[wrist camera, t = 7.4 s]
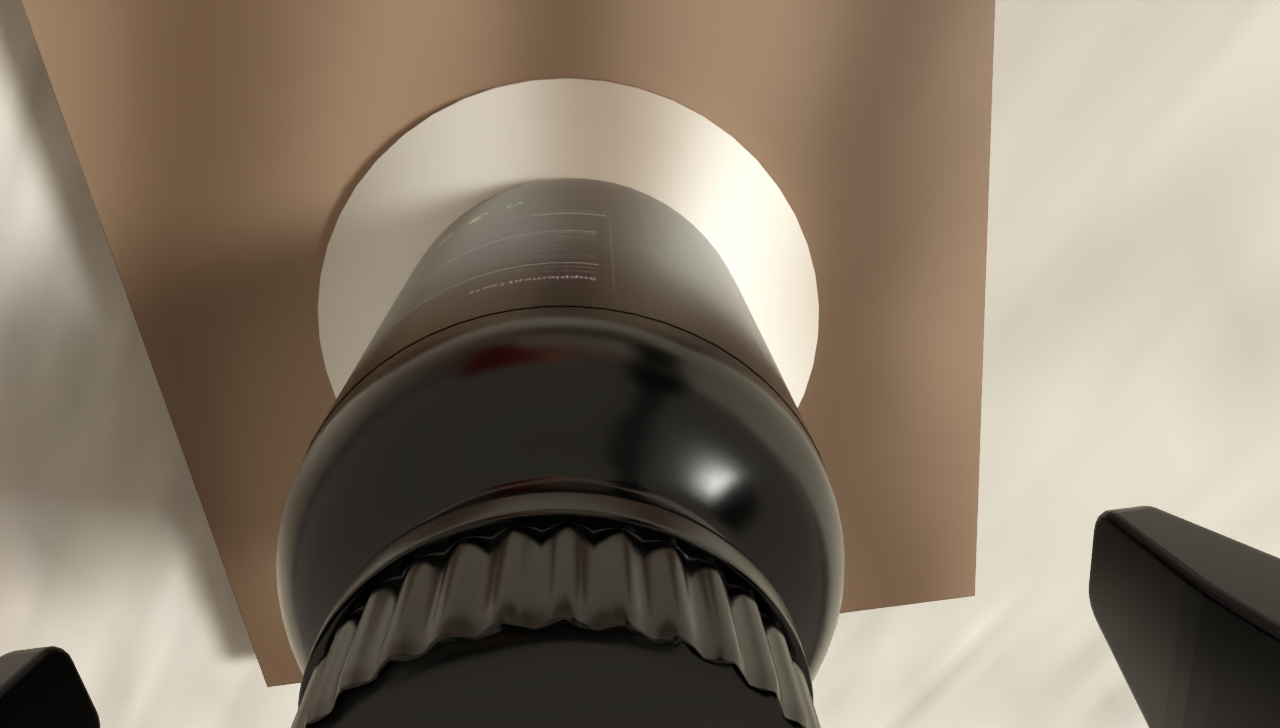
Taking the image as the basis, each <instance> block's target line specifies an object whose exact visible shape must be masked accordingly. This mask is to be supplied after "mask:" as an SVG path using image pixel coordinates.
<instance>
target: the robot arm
mask: <svg viewBox="0 0 1280 728" xmlns="http://www.w3.org/2000/svg"><path fill="white" fill-rule="evenodd" d="M1089 598H1090V603H1091V607H1092V611H1093V614H1094V616H1095V618H1096V621H1097V623H1098V625H1099V627H1100V629H1101V631H1102V633H1103V635H1104V637H1105V639H1106V641H1107V643H1108V645H1109V647H1110V649H1111V651H1112V653H1113V655H1114V657H1115V659H1116V661H1117V663H1118V665H1119V667H1120V669H1121V671H1122V673H1123V676H1124V678H1125V680H1126V682H1127V684H1128V686H1129V688H1130V690H1131V692H1132V694H1133V696H1134V698H1135V700H1136V702H1137V704H1138V706H1139V708H1140V710H1141V712H1142V714H1143V716H1144V718H1145V720H1146V722H1147V724H1148V726H1149V728H1280V558H1277V557H1275V556H1272V555H1270V554H1268V553H1265V552H1263V551H1260V550H1258V549H1255V548H1253V547H1250V546H1248V545H1245V544H1243V543H1241V542H1238V541H1236V540H1233V539H1231V538H1228V537H1226V536H1223V535H1221V534H1218V533H1216V532H1214V531H1211V530H1209V529H1206V528H1204V527H1201V526H1199V525H1196V524H1194V523H1191V522H1189V521H1187V520H1184V519H1182V518H1179V517H1177V516H1174V515H1172V514H1169V513H1167V512H1164V511H1162V510H1160V509H1157V508H1154V507H1151V506H1139V507H1131V508H1123V509H1116V510H1108V511H1105V512H1104V513H1102V514H1101V515H1100V516H1099V517H1098V519H1097V521H1096V524H1095V529H1094V538H1093V549H1092V559H1091V570H1090V580H1089ZM0 728H100V722H99V716H98V714H97V711H96V709H95V707H94V705H93V703H92V701H91V698H90V696H89V694H88V692H87V690H86V688H85V686H84V684H83V682H82V680H81V677H80V675H79V673H78V671H77V669H76V667H75V665H74V663H73V661H72V659H71V657H70V656H69V654H68V653H67V652H65V651H64V650H63V649H61V648H58V647H54V646H50V647H42V648H34V649H26V650H18V651H13V652H10V653H7V654H5V655H3V656H1V657H0Z"/></svg>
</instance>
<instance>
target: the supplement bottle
mask: <svg viewBox="0 0 1280 728" xmlns="http://www.w3.org/2000/svg"><path fill="white" fill-rule="evenodd" d="M276 576H277V591H278V597H279V603H280V609H281V615H282V619H283V623H284V626H285V630H286V633H287V637H288V640H289V643H290V647H291V649H292V651H293V654H294V656H295V659H296V661H297V663H298V666H299V668H300V670H301V672H302V674H303V678H302V682H301V687H300V693H299V701H298V711H297V714H296V716H295V719H294V721H293V724H292V726H291V728H821V727H820V724H819V721H818V718H817V714H816V711H815V708H814V705H813V689H812V682H813V680H814V678H815V676H816V674H817V672H818V670H819V668H820V666H821V664H822V662H823V660H824V658H825V656H826V653H827V651H828V648H829V645H830V642H831V640H832V637H833V634H834V631H835V628H836V625H837V621H838V616H839V612H840V607H841V603H842V598H843V590H844V581H845V542H844V534H843V525H842V520H841V516H840V512H839V507H838V503H837V499H836V496H835V493H834V490H833V488H832V485H831V482H830V479H829V477H828V474H827V471H826V469H825V466H824V463H823V461H822V458H821V456H820V453H819V451H818V449H817V447H816V445H815V443H814V441H813V439H812V437H811V435H810V433H809V431H808V429H807V427H806V425H805V422H804V420H803V418H802V416H801V414H800V412H799V410H798V408H797V406H796V404H795V402H794V400H793V398H792V396H791V394H790V392H789V390H788V388H787V386H786V384H785V382H784V380H783V378H782V375H781V373H780V371H779V369H778V367H777V365H776V363H775V361H774V359H773V357H772V355H771V353H770V351H769V349H768V347H767V345H766V343H765V341H764V339H763V337H762V335H761V333H760V331H759V328H758V326H757V324H756V322H755V320H754V318H753V316H752V314H751V312H750V310H749V308H748V306H747V304H746V302H745V300H744V298H743V296H742V294H741V292H740V290H739V288H738V286H737V284H736V282H735V280H734V278H733V277H732V275H731V273H730V271H729V269H728V268H727V266H726V264H725V263H724V261H723V260H722V258H721V257H720V255H719V253H718V252H717V251H716V250H715V248H714V247H713V246H712V245H711V243H710V242H709V241H708V240H707V238H706V237H705V236H704V235H703V234H702V233H701V232H700V231H699V230H698V229H697V228H696V227H695V226H694V225H693V224H692V223H691V222H689V221H688V220H687V219H686V218H685V217H683V216H682V215H681V214H680V213H678V212H677V211H675V210H674V209H672V208H671V207H669V206H668V205H666V204H665V203H663V202H661V201H659V200H657V199H655V198H654V197H652V196H650V195H647V194H645V193H643V192H640V191H638V190H635V189H633V188H630V187H626V186H623V185H620V184H616V183H612V182H606V181H601V180H594V179H584V178H559V179H548V180H541V181H536V182H531V183H526V184H523V185H520V186H516V187H513V188H510V189H507V190H505V191H503V192H500V193H498V194H495V195H493V196H491V197H489V198H488V199H486V200H484V201H482V202H480V203H478V204H477V205H475V206H474V207H472V208H471V209H469V210H468V211H466V212H465V213H463V214H462V215H461V216H460V217H459V218H457V219H456V220H455V221H454V222H453V223H452V224H450V225H449V226H448V227H447V228H446V229H445V230H444V231H443V232H442V233H441V234H440V235H439V236H438V238H437V239H436V240H435V241H434V242H433V243H432V245H431V246H430V247H429V249H428V250H427V251H426V252H425V254H424V255H423V257H422V258H421V260H420V261H419V263H418V264H417V265H416V267H415V269H414V270H413V272H412V273H411V275H410V277H409V278H408V280H407V282H406V283H405V285H404V287H403V288H402V290H401V292H400V293H399V295H398V297H397V298H396V300H395V302H394V303H393V305H392V307H391V308H390V310H389V312H388V313H387V315H386V317H385V318H384V320H383V322H382V324H381V325H380V327H379V329H378V330H377V332H376V334H375V335H374V337H373V339H372V340H371V342H370V344H369V345H368V347H367V349H366V350H365V352H364V354H363V355H362V357H361V359H360V360H359V362H358V364H357V365H356V367H355V369H354V370H353V372H352V374H351V376H350V377H349V379H348V381H347V382H346V384H345V386H344V387H343V389H342V391H341V392H340V394H339V396H338V397H337V399H336V401H335V402H334V404H333V406H332V407H331V409H330V411H329V412H328V414H327V416H326V417H325V419H324V421H323V423H322V424H321V426H320V428H319V429H318V431H317V433H316V434H315V436H314V438H313V440H312V441H311V443H310V445H309V448H308V450H307V452H306V454H305V456H304V458H303V460H302V462H301V465H300V467H299V469H298V471H297V473H296V475H295V478H294V480H293V482H292V485H291V487H290V490H289V493H288V496H287V500H286V503H285V506H284V509H283V513H282V518H281V523H280V528H279V533H278V544H277V557H276Z"/></svg>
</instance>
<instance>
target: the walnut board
mask: <svg viewBox="0 0 1280 728" xmlns="http://www.w3.org/2000/svg"><path fill="white" fill-rule="evenodd" d="M21 1H22V4H23V7H24V10H25V12H26V15H27V18H28V21H29V24H30V26H31V29H32V32H33V35H34V38H35V40H36V43H37V46H38V49H39V51H40V54H41V57H42V60H43V63H44V65H45V68H46V71H47V74H48V77H49V79H50V82H51V85H52V88H53V91H54V93H55V96H56V99H57V102H58V104H59V107H60V110H61V113H62V116H63V118H64V121H65V124H66V127H67V130H68V132H69V135H70V138H71V141H72V143H73V146H74V149H75V152H76V155H77V157H78V160H79V163H80V166H81V169H82V171H83V174H84V177H85V180H86V183H87V185H88V188H89V191H90V194H91V196H92V199H93V202H94V205H95V208H96V210H97V213H98V216H99V219H100V222H101V224H102V227H103V230H104V233H105V235H106V238H107V241H108V244H109V247H110V249H111V252H112V255H113V258H114V261H115V263H116V266H117V269H118V272H119V275H120V277H121V280H122V283H123V286H124V288H125V291H126V294H127V297H128V300H129V302H130V305H131V308H132V311H133V314H134V316H135V319H136V322H137V325H138V327H139V330H140V333H141V336H142V339H143V341H144V344H145V347H146V350H147V353H148V355H149V358H150V361H151V364H152V367H153V369H154V372H155V375H156V378H157V380H158V383H159V386H160V389H161V392H162V394H163V397H164V400H165V403H166V406H167V408H168V411H169V414H170V417H171V419H172V422H173V425H174V428H175V431H176V433H177V436H178V439H179V442H180V445H181V447H182V450H183V453H184V456H185V459H186V461H187V464H188V467H189V470H190V472H191V475H192V478H193V481H194V484H195V486H196V489H197V492H198V495H199V498H200V500H201V503H202V506H203V509H204V512H205V514H206V517H207V520H208V523H209V525H210V528H211V531H212V534H213V537H214V539H215V542H216V545H217V548H218V551H219V553H220V556H221V559H222V562H223V564H224V567H225V570H226V573H227V576H228V578H229V581H230V584H231V587H232V590H233V592H234V595H235V598H236V601H237V604H238V606H239V609H240V612H241V615H242V617H243V620H244V623H245V626H246V629H247V631H248V634H249V637H250V640H251V643H252V645H253V648H254V651H255V654H256V656H257V659H258V662H259V665H260V668H261V670H262V673H263V676H264V679H265V682H266V684H267V687H271V686H279V685H286V684H294V683H301V682H302V678H303V674H302V672H301V670H300V668H299V666H298V663H297V661H296V659H295V656H294V654H293V651H292V649H291V647H290V643H289V640H288V637H287V633H286V630H285V626H284V623H283V619H282V615H281V609H280V603H279V597H278V591H277V576H276V557H277V544H278V533H279V528H280V523H281V518H282V513H283V509H284V506H285V503H286V500H287V496H288V493H289V490H290V487H291V485H292V482H293V480H294V478H295V475H296V473H297V471H298V469H299V467H300V465H301V462H302V460H303V458H304V456H305V454H306V452H307V450H308V448H309V445H310V443H311V441H312V440H313V438H314V436H315V434H316V433H317V431H318V429H319V428H320V426H321V424H322V423H323V421H324V419H325V417H326V416H327V414H328V412H329V411H330V409H331V407H332V406H333V404H334V402H335V401H336V399H337V397H338V396H339V394H340V392H341V391H342V389H343V387H344V386H345V384H346V382H347V381H348V379H349V377H350V376H351V374H352V372H353V370H354V369H355V367H356V365H357V364H358V362H359V360H360V359H361V357H362V355H363V354H364V352H365V350H366V349H367V347H368V345H369V344H370V342H371V340H372V339H373V337H374V335H375V334H376V332H377V330H378V329H379V327H380V325H381V324H382V322H383V320H384V318H385V317H386V315H387V313H388V312H389V310H390V308H391V307H392V305H393V303H394V302H395V300H396V298H397V297H398V295H399V293H400V292H401V290H402V288H403V287H404V285H405V283H406V282H407V280H408V278H409V277H410V275H411V273H412V272H413V270H414V269H415V267H416V265H417V264H418V263H419V261H420V260H421V258H422V257H423V255H424V254H425V252H426V251H427V250H428V249H429V247H430V246H431V245H432V243H433V242H434V241H435V240H436V239H437V238H438V236H439V235H440V234H441V233H442V232H443V231H444V230H445V229H446V228H447V227H448V226H449V225H450V224H452V223H453V222H454V221H455V220H456V219H457V218H459V217H460V216H461V215H462V214H463V213H465V212H466V211H468V210H469V209H471V208H472V207H474V206H475V205H477V204H478V203H480V202H482V201H484V200H486V199H488V198H489V197H491V196H493V195H495V194H498V193H500V192H503V191H505V190H507V189H510V188H513V187H516V186H520V185H523V184H526V183H531V182H536V181H541V180H548V179H559V178H584V179H594V180H601V181H606V182H612V183H616V184H620V185H623V186H626V187H630V188H633V189H635V190H638V191H640V192H643V193H645V194H647V195H650V196H652V197H654V198H655V199H657V200H659V201H661V202H663V203H665V204H666V205H668V206H669V207H671V208H672V209H674V210H675V211H677V212H678V213H680V214H681V215H682V216H683V217H685V218H686V219H687V220H688V221H689V222H691V223H692V224H693V225H694V226H695V227H696V228H697V229H698V230H699V231H700V232H701V233H702V234H703V235H704V236H705V237H706V238H707V240H708V241H709V242H710V243H711V245H712V246H713V247H714V248H715V250H716V251H717V252H718V253H719V255H720V257H721V258H722V260H723V261H724V263H725V264H726V266H727V268H728V269H729V271H730V273H731V275H732V277H733V278H734V280H735V282H736V284H737V286H738V288H739V290H740V292H741V294H742V296H743V298H744V300H745V302H746V304H747V306H748V308H749V310H750V312H751V314H752V316H753V318H754V320H755V322H756V324H757V326H758V328H759V331H760V333H761V335H762V337H763V339H764V341H765V343H766V345H767V347H768V349H769V351H770V353H771V355H772V357H773V359H774V361H775V363H776V365H777V367H778V369H779V371H780V373H781V375H782V378H783V380H784V382H785V384H786V386H787V388H788V390H789V392H790V394H791V396H792V398H793V400H794V402H795V404H796V406H797V408H798V410H799V412H800V414H801V416H802V418H803V420H804V422H805V425H806V427H807V429H808V431H809V433H810V435H811V437H812V439H813V441H814V443H815V445H816V447H817V449H818V451H819V453H820V456H821V458H822V461H823V463H824V466H825V469H826V471H827V474H828V477H829V479H830V482H831V485H832V488H833V490H834V493H835V496H836V499H837V503H838V507H839V512H840V516H841V520H842V525H843V534H844V542H845V581H844V590H843V598H842V603H841V607H840V612H839V613H845V612H853V611H860V610H868V609H876V608H884V607H891V606H899V605H907V604H915V603H922V602H930V601H938V600H946V599H954V598H961V597H969V596H975V571H976V542H977V513H978V484H979V455H980V425H981V396H982V367H983V338H984V309H985V280H986V250H987V221H988V192H989V163H990V134H991V105H992V76H993V46H994V17H995V0H21Z"/></svg>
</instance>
